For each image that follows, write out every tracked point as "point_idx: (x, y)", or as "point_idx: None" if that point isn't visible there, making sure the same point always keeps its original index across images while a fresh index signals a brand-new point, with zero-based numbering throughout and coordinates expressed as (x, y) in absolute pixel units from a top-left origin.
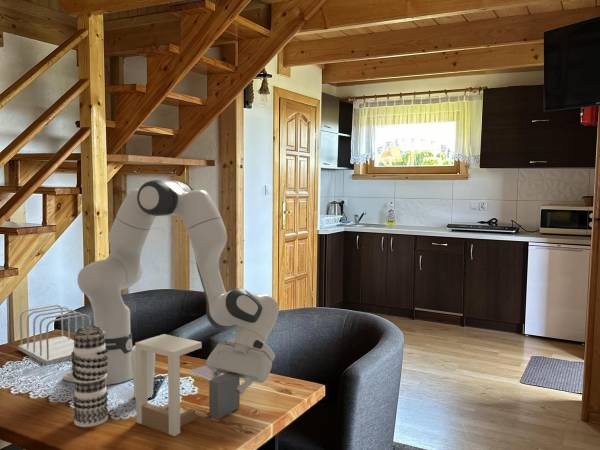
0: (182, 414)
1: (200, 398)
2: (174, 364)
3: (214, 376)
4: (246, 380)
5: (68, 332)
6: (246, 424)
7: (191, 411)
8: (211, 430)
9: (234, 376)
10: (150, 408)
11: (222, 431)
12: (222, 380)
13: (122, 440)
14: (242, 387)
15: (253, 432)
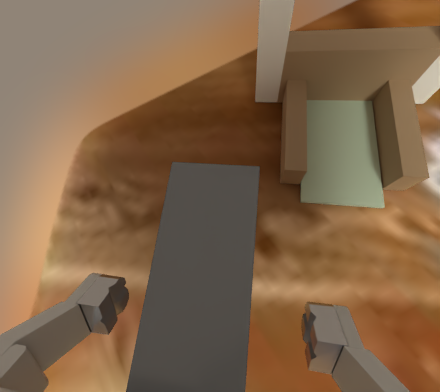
0: (298, 124)
1: (420, 366)
2: None
3: (360, 371)
4: (9, 338)
5: None
6: (111, 231)
7: (288, 155)
8: (188, 151)
9: (133, 379)
10: (387, 29)
11: (157, 161)
12: (169, 216)
13: (351, 19)
14: (73, 298)
15: (74, 197)
